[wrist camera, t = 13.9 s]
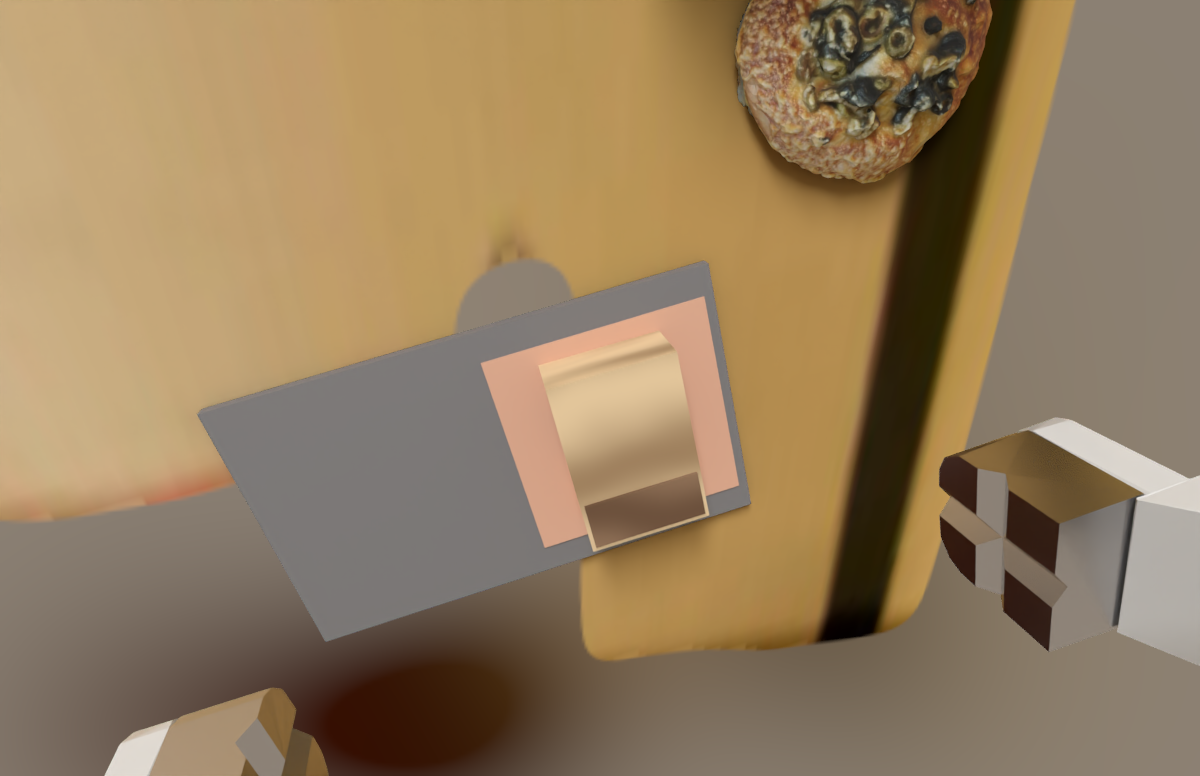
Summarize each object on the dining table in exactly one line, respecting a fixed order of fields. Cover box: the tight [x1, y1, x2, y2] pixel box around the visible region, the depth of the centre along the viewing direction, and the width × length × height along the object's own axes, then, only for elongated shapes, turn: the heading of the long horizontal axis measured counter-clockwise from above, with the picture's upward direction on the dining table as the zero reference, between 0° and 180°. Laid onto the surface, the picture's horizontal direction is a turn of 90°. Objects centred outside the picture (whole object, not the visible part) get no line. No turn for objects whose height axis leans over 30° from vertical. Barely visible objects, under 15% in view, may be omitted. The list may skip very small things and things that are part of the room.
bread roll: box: [734, 0, 992, 183], centre depth 29 cm, size 11×11×5 cm
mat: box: [197, 261, 751, 642], centre depth 34 cm, size 24×14×1 cm, turn 104°
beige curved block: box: [538, 331, 709, 552], centre depth 33 cm, size 9×6×3 cm, turn 14°
